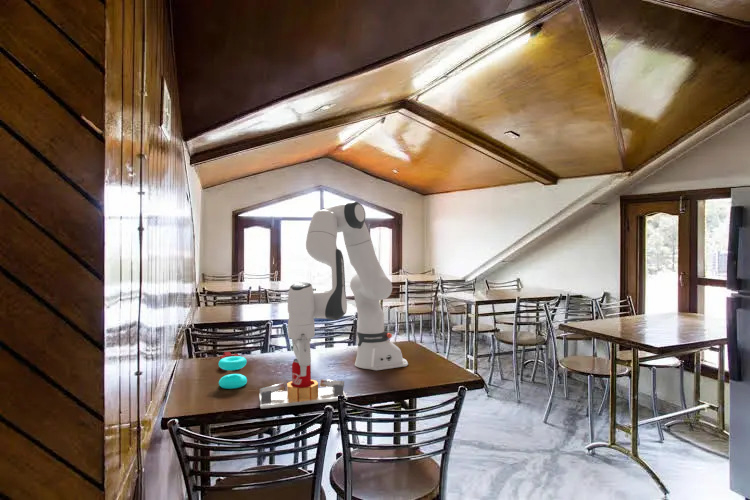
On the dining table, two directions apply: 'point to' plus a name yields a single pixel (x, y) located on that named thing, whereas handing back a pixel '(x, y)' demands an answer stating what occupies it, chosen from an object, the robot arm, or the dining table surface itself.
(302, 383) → the beverage can
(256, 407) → the dining table surface
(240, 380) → the donuts
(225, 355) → the mechanical linkage
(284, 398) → the coupling base
